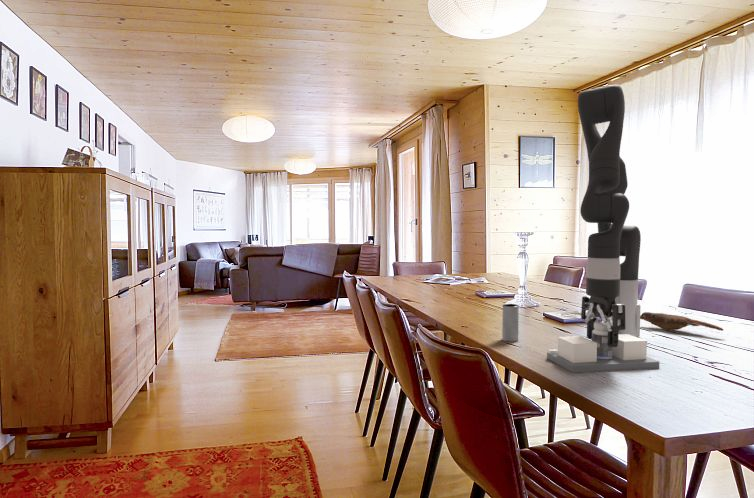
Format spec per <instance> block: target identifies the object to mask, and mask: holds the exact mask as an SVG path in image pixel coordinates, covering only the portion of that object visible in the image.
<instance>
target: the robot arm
mask: <svg viewBox="0 0 754 498" xmlns="http://www.w3.org/2000/svg"><path fill="white" fill-rule="evenodd" d="M625 105H626V102H625V95H624V91H623V88H622V86H621V85H620V84H608V85H606V86H600V87H596V88H591V89H590V88H589V89H587V90H583V91H581V92H579V94H578V97H577V108H578V109H577V110H578V115H579V121H580V123H581V128H582V132H583V138H584V142H585V146H586V152H587V153H586V154H587V161H588V183H587V187H586V191H585V193H584V196H583V199H582V201H581V204H580V216H581V218H582V219H583V220H584V222H586V223H588V224H589V223H590V224H597V232H595V233H594V232H593V233H591V234H590V235H588V239H587V260H586V268H585V269H586V272H585V273H586V274H585V275H586V276H585V294H586V296H582V298H581V313H580V314H581V315H580V318H581V319H582V320H584V322H585V323H586V339H589V340H592V331H593V330H594V329H595V328H594V322H597V321H599V319H601V320H602V322H604V323H606V326H607V328H608V343H607V345H608V346H609V347H617V346H618V334H629V335H632V336H635V337H638V338H639V337H641V336H640V335H641V334H640V333H641V319H640V316H641V305H640V303H639V304H638V302H639V301H638V300H639V299H638V294H639V293H638V292H639V267H640V251H641V239H642V238H641V230H640V229H639V227H638V226H636V225H625V222H626V219H627V217H628V214H629V211H630V201H629V199H628V197H627V196H626V191H627V189H628V175H627V174H628V173H627V169H626V164H625V162H624V160H623V158H622V157H621V156H620V154H621V143H622V137H623V131H624V130H623V129H624V122H625V121H624V120H625V113H626V111H625V110H626V106H625ZM602 123H609V124H608V126H607V128H606V130H605V132H604V133H603V135H600V132H599V131H598V128H597V126H596V125H598V124H602ZM620 257H625V258H624V261H623V262H621V261H620V260H621V258H620ZM611 324H612V325H611Z"/></svg>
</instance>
